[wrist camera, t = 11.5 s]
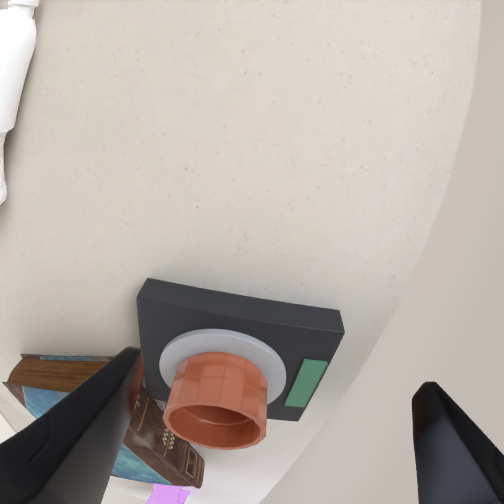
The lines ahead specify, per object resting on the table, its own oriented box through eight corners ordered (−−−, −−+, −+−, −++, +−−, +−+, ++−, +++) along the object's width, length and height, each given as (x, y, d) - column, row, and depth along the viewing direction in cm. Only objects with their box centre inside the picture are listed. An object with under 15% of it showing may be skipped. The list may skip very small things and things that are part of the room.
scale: (339, 309, 22) (346, 338, 19) (297, 401, 28) (298, 427, 25) (147, 277, 22) (132, 303, 19) (154, 378, 27) (145, 402, 25)
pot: (286, 381, 22) (287, 432, 18) (226, 411, 24) (220, 456, 20) (216, 333, 20) (204, 388, 16) (160, 372, 22) (145, 419, 18)
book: (206, 459, 37) (201, 489, 32) (108, 448, 39) (99, 473, 35) (125, 355, 26) (106, 397, 22) (19, 353, 29) (0, 381, 25)
